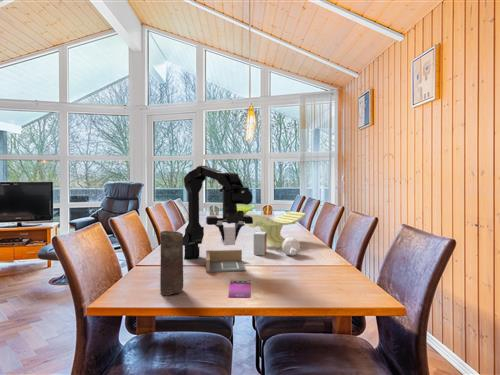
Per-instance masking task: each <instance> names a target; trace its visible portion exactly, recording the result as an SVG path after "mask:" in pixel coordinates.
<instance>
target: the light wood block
mask: <svg viewBox="0 0 500 375" xmlns="http://www.w3.org/2000/svg"><path fill="white" fill-rule="evenodd" d="M223 229H224V241H223V240H222V237H221V239H220V240H221V243H222V245H223V246H236V241H235V226H227V227H226V226H225V227H224V228H223Z"/></svg>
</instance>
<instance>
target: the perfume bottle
mask: <svg viewBox="0 0 500 375" xmlns="http://www.w3.org/2000/svg"><path fill="white" fill-rule="evenodd" d="M284 239H285V240H284V241H283V244H282V247H281V248H282V251H283V252H284V253H285V254H286V255H288V256H290V257H292V256H295V255H297V254H298V252H299V251H300V248H301V244H300V242H299V240H298V239H297V238H295V237H292V236H290V237H287V238H284Z"/></svg>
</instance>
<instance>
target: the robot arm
mask: <svg viewBox="0 0 500 375" xmlns="http://www.w3.org/2000/svg"><path fill="white" fill-rule="evenodd" d="M207 178H209V179H212V180H214V181H217V183H218V184H219V185H220V186H222V187H221V188H220V189H219V190H218V191H219V192H222V217H217V216H216V215H211V216H206V218H205V223H206V225H208V226H212V225H213V226H215V227H216V228H218V230H219V233H220V236H221V238H222V240H223V241H224V224H223V223H226V224H229V225H231V224H234V227H235V242H236V241H237V238H238V236H239V233H240V231H241V228H242V227H243V226H245V225H246V224H247V225H249V224H253V218H252V217H251V216H250V215H245V211H244V210H238V206H237V205H246V206H248V205H250V204H251V203H252V201H253V194H252V192H251V191H250V187H245V186H244V184H243V183H242V181H241V178H240V176H239V173H236V172H229V171H228V172H225V171H222V170H218V169H215V168H213V167H209V166H208V165H198V166H197V167H195V168H194V169H192V170H190V171H189V172H188V173H186V174H185V175H184V177H183V185H184V188H185V190H186V192H187V201H188V203H187V204H188V206H187V208H188V210H187V211H188V212H187V213H188V216H187V217H188V223H187V226H186V227H185V229H184V234H183V247H184V255H183V260H192V259H193V260H195V259H196V260H197V259H199V257H200V252H201V251H200V246H199V245H202V244H203V243H202V242H203V239H204V236H205V233H204V230H205V229H204V226H202V225H201V223H200V191H201V190H202V188H203V182H205V181H206V180H207ZM244 223H245V224H244Z"/></svg>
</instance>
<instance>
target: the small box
mask: <svg viewBox="0 0 500 375" xmlns="http://www.w3.org/2000/svg"><path fill="white" fill-rule="evenodd" d="M266 253H267V232H261V231H256V232H255V233H253V255H255V256H265V255H266Z"/></svg>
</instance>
